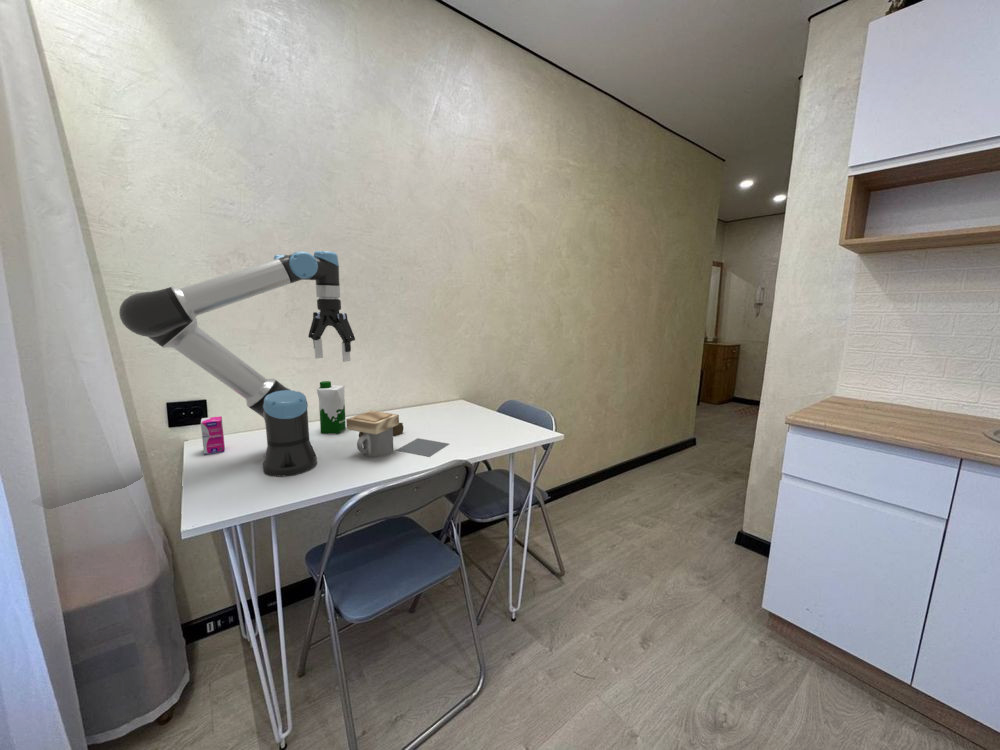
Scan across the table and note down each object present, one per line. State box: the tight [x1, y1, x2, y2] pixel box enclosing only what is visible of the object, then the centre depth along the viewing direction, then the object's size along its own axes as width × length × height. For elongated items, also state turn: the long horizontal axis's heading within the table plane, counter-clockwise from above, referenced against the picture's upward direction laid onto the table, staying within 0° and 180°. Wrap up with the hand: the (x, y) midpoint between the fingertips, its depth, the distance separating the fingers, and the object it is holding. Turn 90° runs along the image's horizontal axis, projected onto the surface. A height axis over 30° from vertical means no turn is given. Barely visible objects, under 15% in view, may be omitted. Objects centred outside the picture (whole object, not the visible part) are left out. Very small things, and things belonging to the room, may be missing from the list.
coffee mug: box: [356, 427, 394, 458], centre depth 136 cm, size 13×10×10 cm
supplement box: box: [200, 416, 226, 456], centre depth 136 cm, size 6×6×12 cm
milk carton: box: [316, 380, 347, 435], centre depth 158 cm, size 9×9×20 cm
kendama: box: [358, 422, 404, 438], centre depth 155 cm, size 6×10×20 cm
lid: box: [345, 410, 400, 435], centre depth 135 cm, size 12×12×4 cm
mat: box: [395, 437, 450, 458], centre depth 143 cm, size 14×14×1 cm
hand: (332, 359), depth 140 cm, fingers open, 13 cm apart
